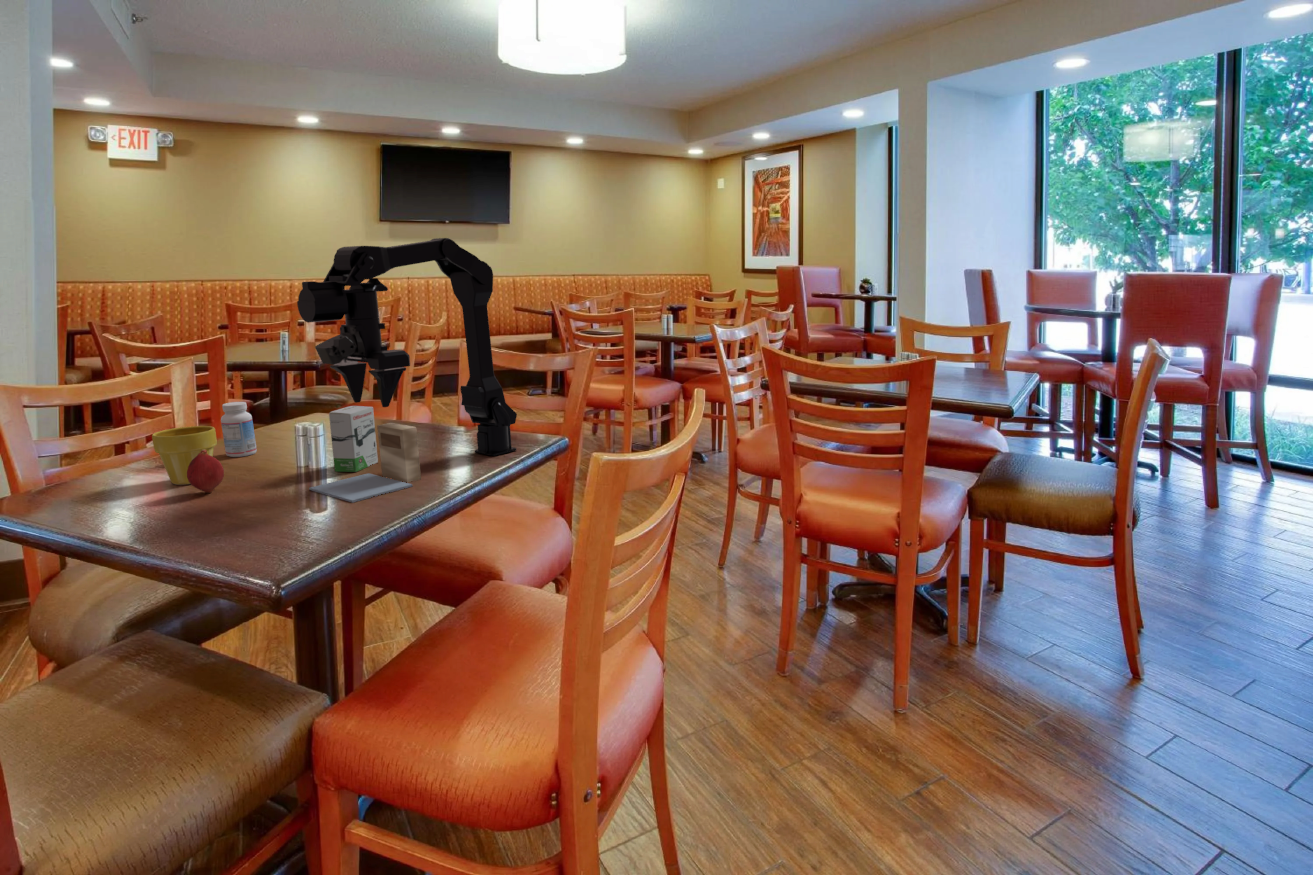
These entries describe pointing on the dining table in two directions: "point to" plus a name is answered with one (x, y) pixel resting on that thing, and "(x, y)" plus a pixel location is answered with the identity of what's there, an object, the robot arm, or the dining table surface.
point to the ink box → (353, 438)
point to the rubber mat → (360, 487)
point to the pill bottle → (238, 430)
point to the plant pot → (183, 448)
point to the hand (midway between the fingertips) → (371, 404)
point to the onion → (205, 472)
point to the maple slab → (399, 452)
